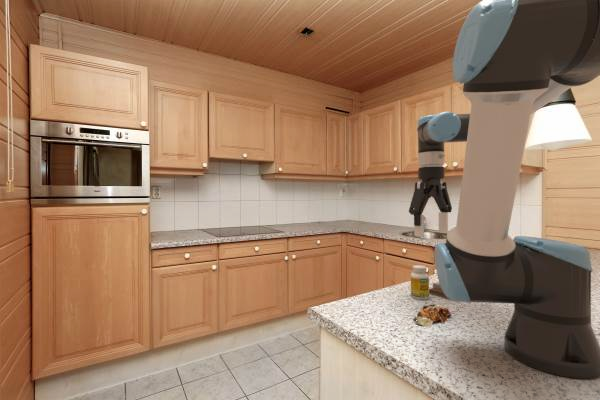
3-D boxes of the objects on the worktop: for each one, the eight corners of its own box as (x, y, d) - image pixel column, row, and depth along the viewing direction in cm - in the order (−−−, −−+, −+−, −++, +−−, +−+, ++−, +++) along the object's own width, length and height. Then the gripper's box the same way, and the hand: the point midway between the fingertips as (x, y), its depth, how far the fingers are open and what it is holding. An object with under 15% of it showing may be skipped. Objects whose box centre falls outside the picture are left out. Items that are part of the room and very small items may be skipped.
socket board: (456, 301, 91) (456, 291, 91) (429, 293, 98) (429, 284, 98) (476, 293, 98) (476, 283, 98) (449, 286, 105) (449, 277, 105)
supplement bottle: (419, 293, 99) (418, 263, 99) (433, 298, 94) (432, 267, 94) (407, 296, 97) (406, 265, 97) (420, 301, 92) (420, 269, 92)
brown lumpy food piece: (408, 323, 77) (408, 310, 77) (427, 310, 86) (426, 298, 86) (436, 331, 73) (436, 317, 73) (453, 316, 81) (453, 303, 81)
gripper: (418, 164, 85) (419, 240, 85) (463, 167, 99) (463, 231, 100) (396, 166, 91) (396, 237, 91) (440, 168, 105) (441, 229, 106)
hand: (431, 234), depth 96 cm, fingers open, 13 cm apart
